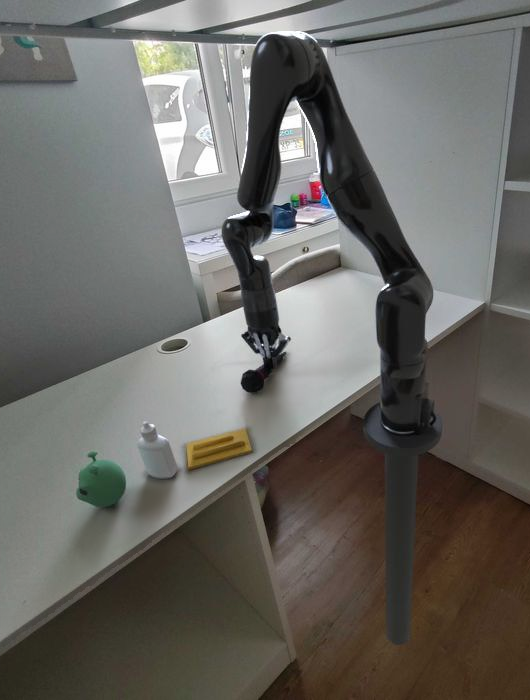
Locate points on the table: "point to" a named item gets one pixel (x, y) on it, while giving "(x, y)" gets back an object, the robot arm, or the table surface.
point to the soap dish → (218, 448)
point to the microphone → (258, 376)
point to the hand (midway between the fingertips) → (271, 368)
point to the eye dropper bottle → (156, 453)
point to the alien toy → (101, 482)
